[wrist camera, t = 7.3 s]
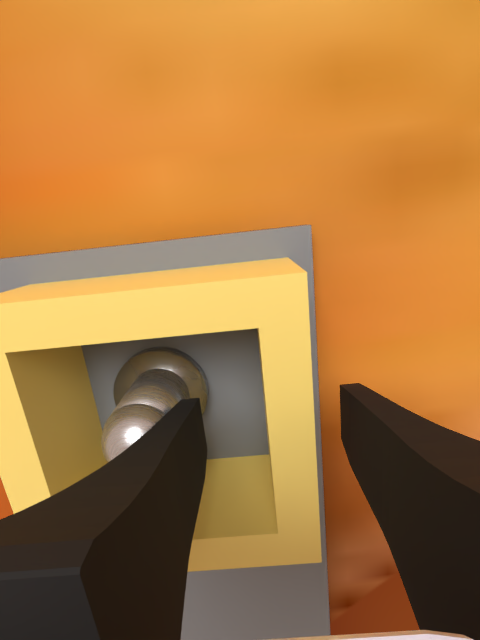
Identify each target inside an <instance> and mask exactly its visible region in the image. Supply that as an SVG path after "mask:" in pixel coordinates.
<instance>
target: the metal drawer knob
mask: <svg viewBox="0 0 480 640" xmlns="http://www.w3.org/2000/svg"><path fill="white" fill-rule="evenodd" d="M208 392H209V388H208V381H207V378H206V375H205V373H204V371H203V369H202V368H201V366H200V365H199V364H198V363H197V362H196V361H195V360H194V359H193V358H192V357H191V356H189V355H188V354H186V353H184V352H182V351H180V350H177V349H174V348H170V347H151V348H147V349H144V350H142V351H139V352H138V353H136V354H135V355H133V356H132V357H131V358H130V359H129V360H128V361H127V362H126V363H125V364H124V366H123V367H122V368H121V369H120V371H119V372H118V374H117V376H116V379H115V382H114V388H113V395H114V401H115V404H116V408H115V409H114V411H113V412H112V413H111V415H110V416H109V418H108V419H107V421H106V423H105V425H104V428H103V431H102V437H101V446H102V451H103V454H104V457H105V459H106V460H107V462H109V461H111V460H112V459H114V458H115V457H117V456H118V455H119V454H121V453H122V452H123V451H125V450H126V449H127V448H128V447H130V446H131V445H132V444H133V443H134V442H135V441H137V440H138V439H139V438H140V437H141V436H143V435H144V434H145V433H146V432H147V431H148V430H150V429H151V428H152V427H153V426H154V425H155V424H156V423H157V422H158V421H159V420H160V419H161V418H162V417H163V416H164V415H165V414H166V413H167V412H169V411H170V410H171V409H172V408H173V407H174V406H175V405H176V404H177V403H178V402H179V401H180V400H181V399H190V398H200V405H201V411H202V415H203V413H204V411H205V408H206V404H207V399H208Z"/></svg>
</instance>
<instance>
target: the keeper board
mask: <svg viewBox="0 0 480 640" xmlns="http://www.w3.org/2000/svg"><path fill="white" fill-rule="evenodd" d="M286 257H288V258H289V259H291V260H292V261H293V262H295V263H296V264H297V265H298V266H300V267H301V268H302V269H304V270H305V271H306V272H307V281H308V300H309V320H310V340H311V359H312V379H313V399H314V418H315V438H316V458H317V477H318V497H319V517H320V536H321V556H322V562H321V563H307V564H293V565H278V566H264V567H250V568H235V569H221V570H207V571H192V572H187V581H186V590H185V599H184V609H183V620H182V630H181V640H266V639H283V638H299V637H315V636H330V615H329V594H328V572H327V551H326V530H325V509H324V488H323V467H322V445H321V424H320V403H319V382H318V361H317V340H316V319H315V297H314V276H313V255H312V234H311V225H300V226H291V227H282V228H273V229H264V230H255V231H246V232H237V233H228V234H219V235H210V236H201V237H191V238H182V239H173V240H164V241H155V242H146V243H137V244H128V245H119V246H110V247H101V248H92V249H83V250H74V251H64V252H55V253H46V254H37V255H28V256H19V257H10V258H1V259H0V293H2V292H5V291H9V290H12V289H16V288H19V287H23V286H26V285H30V284H39V283H49V282H58V281H68V280H77V279H87V278H96V277H106V276H115V275H125V274H134V273H144V272H153V271H163V270H172V269H182V268H191V267H201V266H210V265H220V264H229V263H239V262H248V261H258V260H267V259H277V258H286ZM81 347H82V351H83V355H84V359H85V363H86V367H87V371H88V375H89V379H90V383H91V387H92V391H93V395H94V399H95V403H96V407H97V411H98V415H99V419H100V423H101V427H102V431H103V428H104V425H105V423H106V421H107V419H108V418H109V416H110V415H111V413H112V412H113V411H114V409H115V408H116V404H115V401H114V395H113V388H114V382H115V379H116V376H117V374H118V372H119V371H120V369H121V368H122V367H123V366H124V364H125V363H126V362H127V361H128V360H129V359H130V358H131V357H132V356H133V355H135V354H136V353H138V352H139V351H142V350H144V349H147V348H151V347H170V348H174V349H177V350H180V351H182V352H184V353H186V354H188V355H189V356H191V357H192V358H193V359H194V360H195V361H196V362H197V363H198V364H199V365H200V366H201V368H202V369H203V371H204V373H205V375H206V378H207V381H208V388H209V392H208V399H207V404H206V408H205V411H204V413H203V415H202V418H203V424H204V431H205V437H206V443H207V459H219V458H231V457H244V456H256V455H268V454H269V447H268V436H267V426H266V415H265V405H264V394H263V384H262V373H261V363H260V353H259V342H258V332H257V328H255V329H244V330H234V331H224V332H214V333H203V334H193V335H183V336H172V337H162V338H152V339H142V340H131V341H121V342H111V343H101V344H90V345H81Z"/></svg>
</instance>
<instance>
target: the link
mask: <svg viewBox="0 0 480 640" xmlns="http://www.w3.org/2000/svg"><path fill="white" fill-rule="evenodd" d="M255 328H257V332H258V342H259V353H260V363H261V373H262V384H263V394H264V405H265V415H266V426H267V436H268V447H269V454H268V455H256V456H244V457H231V458H219V459H207V463H206V475H205V481H204V486H203V491H202V496H201V501H200V506H199V511H198V515H197V520H196V525H195V530H194V534H193V539H192V544H191V550H190V556H189V563H188V572H192V571H207V570H221V569H235V568H250V567H264V566H278V565H293V564H307V563H321V562H322V556H321V536H320V517H319V497H318V477H317V458H316V438H315V418H314V399H313V379H312V359H311V340H310V320H309V300H308V281H307V272H306V271H305V270H304V269H302V268H301V267H300V266H298V265H297V264H296V263H295V262H293V261H292V260H291V259H289V258H288V257H286V258H277V259H267V260H258V261H248V262H239V263H229V264H220V265H210V266H201V267H191V268H182V269H172V270H163V271H153V272H144V273H134V274H125V275H115V276H106V277H96V278H87V279H77V280H68V281H58V282H49V283H39V284H30V285H26V286H23V287H19V288H16V289H12V290H9V291H5V292H2V293H0V477H1V479H2V482H3V485H4V488H5V491H6V493H7V496H8V499H9V502H10V504H11V507H12V510H13V513H14V514H15V513H17V512H20V511H22V510H24V509H26V508H28V507H30V506H32V505H35V504H37V503H39V502H41V501H43V500H45V499H47V498H49V497H51V496H53V495H55V494H56V493H58V492H60V491H62V490H64V489H66V488H68V487H69V486H71V485H73V484H74V483H76V482H78V481H79V480H81V479H83V478H84V477H86V476H88V475H89V474H91V473H93V472H94V471H96V470H98V469H99V468H101V467H102V466H104V465H105V464H107V463H108V462H107V460H106V459H105V457H104V454H103V451H102V446H101V437H102V427H101V423H100V419H99V415H98V411H97V407H96V403H95V399H94V395H93V391H92V387H91V383H90V379H89V375H88V371H87V367H86V363H85V359H84V355H83V351H82V347H81V345H90V344H101V343H111V342H121V341H131V340H142V339H152V338H162V337H172V336H183V335H193V334H203V333H214V332H224V331H234V330H244V329H255Z"/></svg>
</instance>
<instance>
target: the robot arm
mask: <svg viewBox="0 0 480 640" xmlns="http://www.w3.org/2000/svg"><path fill="white" fill-rule="evenodd" d="M340 408H341V439H342V442H343V445H344V448H345V451H346V454H347V457H348V460H349V463H350V465H351V467H352V470H353V472H354V474H355V476H356V478H357V480H358V482H359V484H360V486H361V488H362V490H363V492H364V494H365V496H366V498H367V500H368V502H369V504H370V506H371V509H372V511H373V513H374V515H375V517H376V519H377V521H378V523H379V525H380V527H381V529H382V531H383V533H384V536H385V538H386V540H387V542H388V545H389V547H390V550H391V552H392V555H393V558H394V560H395V563H396V566H397V568H398V571H399V573H400V576H401V579H402V581H403V584H404V587H405V590H406V592H407V595H408V598H409V601H410V603H411V606H412V609H413V612H414V614H415V617H416V620H417V622H418V625H419V628H420V630H412V631H396V632H380V633H366V634H365V633H364V634H348V635H332V636H315V637H299V638H283V639H266V640H480V441H478V440H475V439H472V438H470V437H467V436H465V435H462V434H460V433H457V432H454V431H452V430H449V429H447V428H445V427H442V426H440V425H438V424H435V423H433V422H431V421H429V420H427V419H425V418H423V417H421V416H419V415H417V414H415V413H413V412H411V411H409V410H407V409H405V408H403V407H401V406H399V405H398V404H396V403H394V402H392V401H390V400H389V399H387V398H385V397H383V396H381V395H380V394H378V393H376V392H374V391H373V390H371V389H369V388H367V387H365V386H363V385H361V384H359V383H355V384H344V385H340ZM206 463H207V443H206V437H205V431H204V424H203V418H202V411H201V405H200V398H190V399H181V400H180V401H179V402H178V403H177V404H176V405H175V406H174V407H173V408H172V409H171V410H170V411H169V412H167V413H166V414H165V415H164V416H163V417H162V418H161V419H160V420H159V421H158V422H157V423H156V424H155V425H154V426H153V427H152V428H151V429H150V430H148V431H147V432H146V433H145V434H144V435H143V436H141V437H140V438H139V439H138V440H137V441H135V442H134V443H133V444H132V445H131V446H130V447H128V448H127V449H126V450H125V451H123V452H122V453H121V454H119V455H118V456H117V457H115V458H114V459H112V460H111V461H109V462H108V463H107V464H105V465H104V466H102V467H101V468H99V469H98V470H96V471H94V472H93V473H91V474H89V475H88V476H86V477H84V478H83V479H81V480H79V481H78V482H76V483H74V484H73V485H71V486H69V487H68V488H66V489H64V490H62V491H60V492H58V493H56V494H55V495H53V496H51V497H49V498H47V499H45V500H43V501H41V502H39V503H37V504H35V505H32V506H30V507H28V508H26V509H24V510H22V511H20V512H17V513H15V514H13V515H10V516H8V517H6V518H3V519H1V520H0V640H181V630H182V620H183V609H184V599H185V590H186V581H187V572H188V563H189V556H190V550H191V544H192V539H193V534H194V530H195V525H196V520H197V515H198V511H199V506H200V501H201V496H202V491H203V486H204V481H205V475H206Z"/></svg>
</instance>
